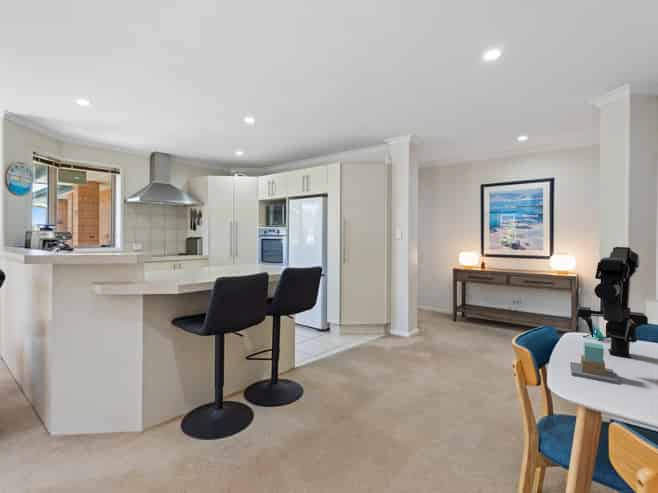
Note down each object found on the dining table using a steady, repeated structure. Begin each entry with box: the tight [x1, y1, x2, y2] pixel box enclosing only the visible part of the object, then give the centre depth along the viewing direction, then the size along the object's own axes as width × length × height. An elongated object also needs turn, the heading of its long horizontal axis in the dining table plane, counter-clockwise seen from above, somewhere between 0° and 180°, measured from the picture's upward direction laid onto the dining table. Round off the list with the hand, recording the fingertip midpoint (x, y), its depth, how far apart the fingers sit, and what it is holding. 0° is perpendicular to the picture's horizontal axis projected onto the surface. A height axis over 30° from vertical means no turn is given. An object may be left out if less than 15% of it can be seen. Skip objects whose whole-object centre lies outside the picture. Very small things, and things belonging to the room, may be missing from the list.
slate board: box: [569, 361, 618, 385], centre depth 117 cm, size 11×12×1 cm
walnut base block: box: [580, 354, 606, 376], centre depth 117 cm, size 6×6×4 cm
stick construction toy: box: [582, 323, 605, 342], centre depth 156 cm, size 12×7×8 cm
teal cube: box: [582, 341, 605, 363], centre depth 117 cm, size 5×5×5 cm
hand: (609, 339), depth 119 cm, fingers open, 9 cm apart
